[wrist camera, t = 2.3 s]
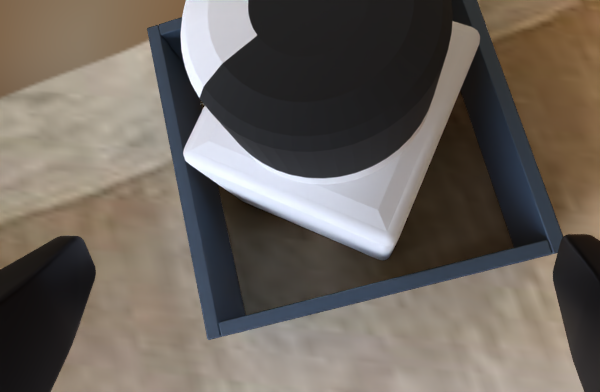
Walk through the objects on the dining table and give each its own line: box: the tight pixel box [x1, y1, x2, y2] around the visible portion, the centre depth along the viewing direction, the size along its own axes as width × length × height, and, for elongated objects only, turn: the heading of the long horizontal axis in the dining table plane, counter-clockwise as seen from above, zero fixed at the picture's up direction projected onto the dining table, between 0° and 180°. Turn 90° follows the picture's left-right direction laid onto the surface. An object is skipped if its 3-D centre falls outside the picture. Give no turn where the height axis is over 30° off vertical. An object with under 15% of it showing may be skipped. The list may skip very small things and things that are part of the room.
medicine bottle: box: [181, 0, 480, 261], centre depth 16 cm, size 7×7×12 cm
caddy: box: [147, 0, 563, 340], centre depth 20 cm, size 12×12×4 cm
